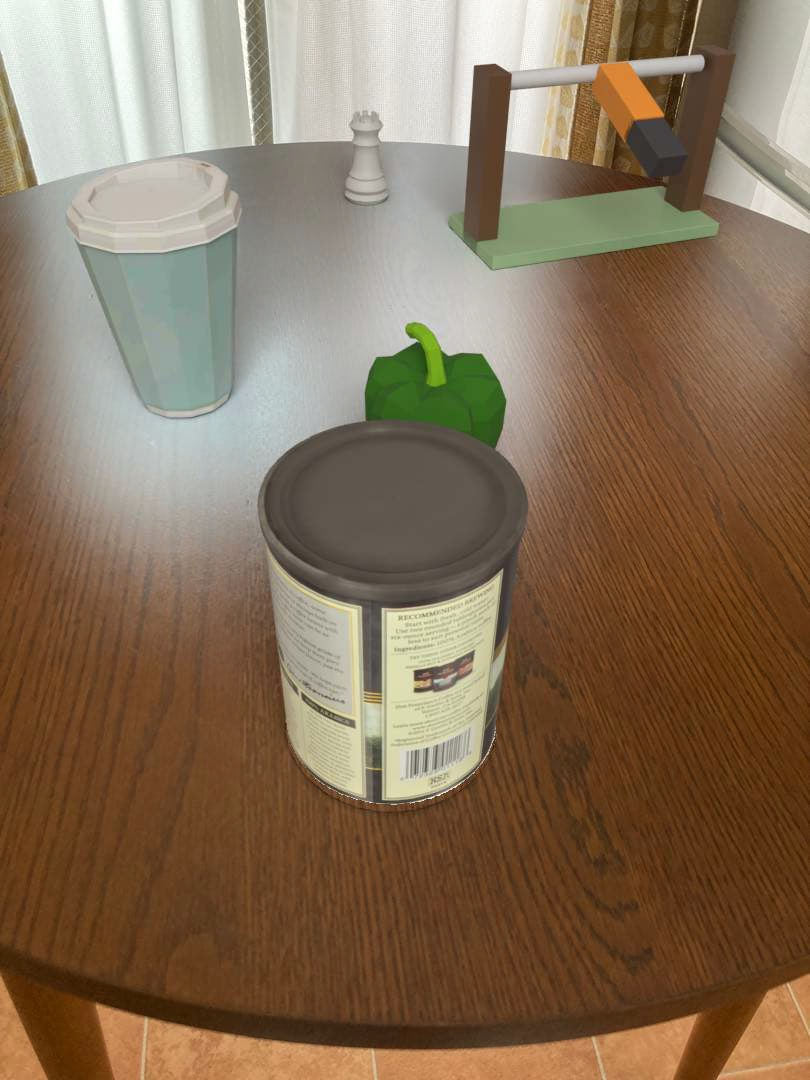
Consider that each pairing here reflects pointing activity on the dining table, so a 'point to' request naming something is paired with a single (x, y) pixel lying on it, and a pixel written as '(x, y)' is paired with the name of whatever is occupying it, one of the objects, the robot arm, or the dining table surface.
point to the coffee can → (392, 602)
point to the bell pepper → (436, 388)
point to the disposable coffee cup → (165, 276)
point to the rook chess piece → (366, 162)
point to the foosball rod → (627, 104)
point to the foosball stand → (595, 217)
